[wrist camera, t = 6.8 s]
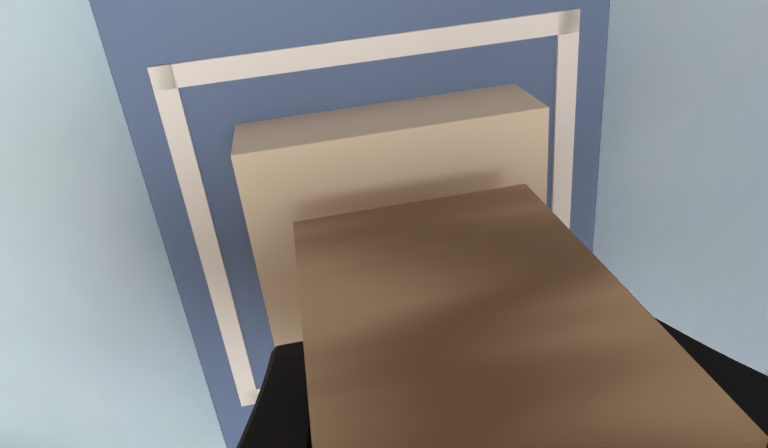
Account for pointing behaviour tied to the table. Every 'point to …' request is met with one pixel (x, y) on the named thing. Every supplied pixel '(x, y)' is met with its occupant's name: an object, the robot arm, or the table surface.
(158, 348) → the table surface
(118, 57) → the blueprint board
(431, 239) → the oak block
